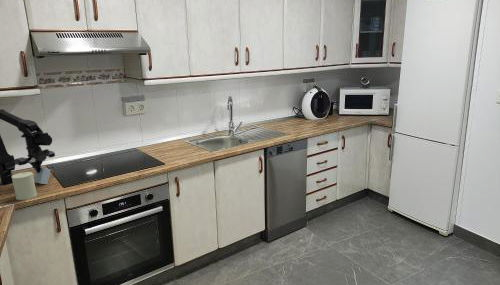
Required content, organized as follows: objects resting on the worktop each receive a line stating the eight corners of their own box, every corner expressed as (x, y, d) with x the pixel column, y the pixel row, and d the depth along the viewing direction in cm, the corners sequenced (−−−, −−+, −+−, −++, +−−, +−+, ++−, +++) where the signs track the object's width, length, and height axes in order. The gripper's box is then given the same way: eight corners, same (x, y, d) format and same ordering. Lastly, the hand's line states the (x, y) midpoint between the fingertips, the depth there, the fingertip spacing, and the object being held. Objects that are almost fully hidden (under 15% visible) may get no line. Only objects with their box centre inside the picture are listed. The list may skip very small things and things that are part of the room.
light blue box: (33, 181, 199) (37, 166, 200) (40, 181, 202) (44, 167, 203) (40, 183, 195) (43, 168, 196) (47, 183, 199) (50, 169, 200)
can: (40, 192, 187) (35, 170, 184) (32, 199, 178) (27, 176, 175) (21, 193, 186) (16, 171, 183) (12, 201, 177) (7, 177, 174)
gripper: (21, 151, 182) (27, 180, 186) (58, 142, 197) (62, 169, 200) (11, 148, 188) (17, 177, 192) (47, 140, 203) (52, 167, 207)
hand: (38, 172), depth 197 cm, fingers closed
